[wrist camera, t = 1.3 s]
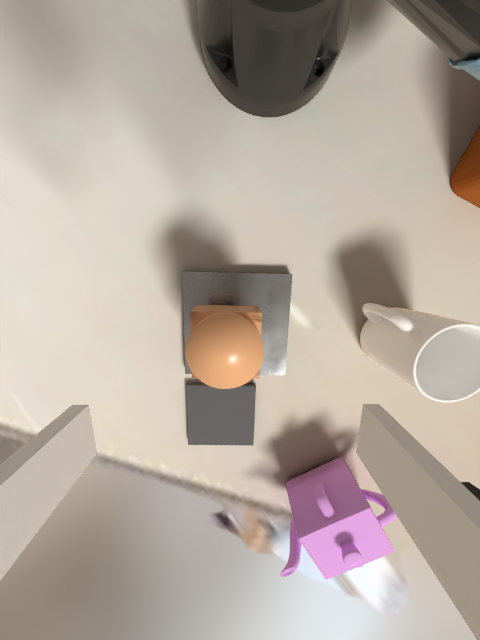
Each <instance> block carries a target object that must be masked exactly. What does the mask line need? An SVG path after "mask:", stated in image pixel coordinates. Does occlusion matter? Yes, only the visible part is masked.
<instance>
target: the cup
mask: <svg viewBox="0 0 480 640" xmlns="http://www.w3.org/2000/svg"><path fill="white" fill-rule="evenodd" d="M362 310H363V313H364V314H365V316H366V317H367V318H368V320H367V321H366V322H365V324H364V325H363V328H362V330H361V334H360V344H361V347H362V350H363V352H364V353H365V354H366V356H367V357H368V358H370V359H371V360H372V361H373V362H375V363H376V364H378V365H379V366H381V367H382V368H384V369H385V370H387V371H388V372H390V373H391V374H393V375H394V376H396V377H397V378H399V379H400V380H402V381H403V382H405V383H406V384H408V385H409V386H411V387H412V388H414V389H415V390H417V391H418V392H420V393H421V394H423V395H424V396H426V397H428V398H430V399H432V400H435V401H439V402H455V401H459V400H463V399H465V398H468V397H470V396H472V395H473V394H475V393H476V392H478V391H479V390H480V326H478V325H475V324H471V323H467V322H462V321H458V320H454V319H449V318H445V317H440V316H436V315H431V314H427V313H423V312H418V311H414V310H409V309H405V308H398V307H391V308H388V307H385V306H382V305H379V304H374V303H366V304H365V305H363V307H362Z"/></svg>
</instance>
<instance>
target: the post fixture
mask: <svg viewBox="0 0 480 640" xmlns="http://www.w3.org/2000/svg"><path fill="white" fill-rule="evenodd" d="M291 285H292V274H274V273H233V272H192V271H182V290H183V321H184V351H185V374H192V371H191V370H190V368H189V366H188V363H187V360H186V344H187V340H188V338H189V336H190V334H191V319H190V311H191V310H192V309H193V308H195V307H196V306H197V305H228V306H258V307H259V309H260V310H261V312H262V324H261V340H262V343H263V347H264V358H263V362H262V365H261V367H260V369H259V375H285V366H286V353H287V339H288V326H289V312H290V299H291Z"/></svg>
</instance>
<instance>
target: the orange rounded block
mask: <svg viewBox="0 0 480 640" xmlns="http://www.w3.org/2000/svg"><path fill="white" fill-rule="evenodd" d="M451 188H452V190H453V192H454V193H455V194H456V195H457V196H459V197H461V198H463V199H465V200H466V201H468V202H470V203H472V204H474V205H475V206H477V207H479V208H480V127H479V129H478V130H477V132H476V134H475V136H474V137H473V139H472V141H471V142H470V144H469V146H468V148H467V149H466V151H465V153H464V155H463V156H462V158H461V160H460V161H459V163H458V165H457V167H456V168H455V170H454V172H453V174H452V177H451Z"/></svg>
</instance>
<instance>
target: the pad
mask: <svg viewBox="0 0 480 640" xmlns="http://www.w3.org/2000/svg"><path fill="white" fill-rule="evenodd" d="M186 392H187V424H188V445H253V438H254V415H255V392H256V385H255V384H251V383H246V384H244V385H242V386H239V387H236V388H231V389H219V388H214V387H211V386H209V385H206V384H205V383H187V385H186Z"/></svg>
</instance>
